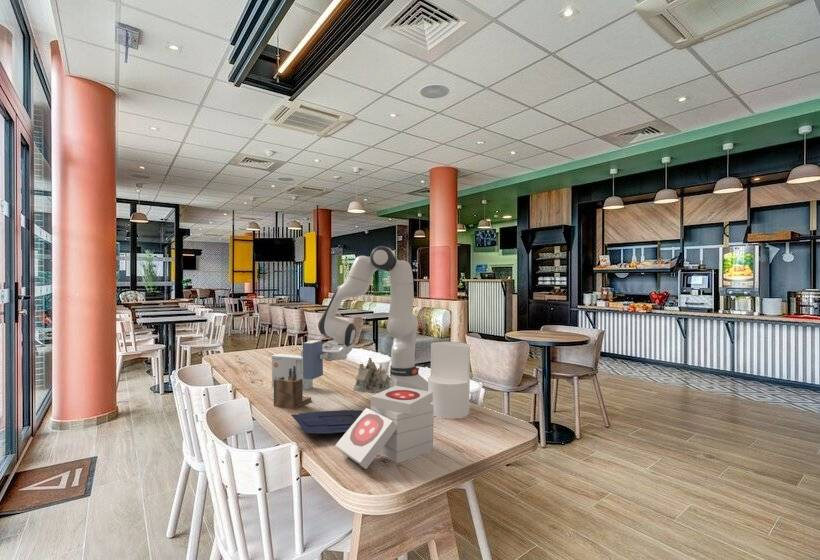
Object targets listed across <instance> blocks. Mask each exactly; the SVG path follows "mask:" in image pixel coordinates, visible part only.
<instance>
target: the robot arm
mask: <svg viewBox="0 0 820 560" xmlns="http://www.w3.org/2000/svg"><path fill="white" fill-rule="evenodd" d="M376 271H385V272H387V273H388V274H389V275H388V276H389V287H390V289H389V290H390V292H389V293H390V300H389V301H390V302H389V311H388V319H387V323H386V331H387V333H388V335H389V336H390V337H392V338H393V340H392V341H393V342H392V345H391V352H390V353H391V354H390V357H391V359H390V360H391V361H390V370H389V375H390V376H389V377H390V378H391V381H390V388H391V387H394V386H401V387H406V388H412V389H418V390H423V391H428V381H427V379H425V378H424V377H422V375H420V374H419V370H420V367H419V366H418V367H417V365H415V359H416V358H415V355H416V354H415V353H416V352H415V349H416V342H417V336H418V327H419V320H418V317H417V316H416V315H415V314H414V313H412V312H413V306H414V302H415V294H414V291H415V290H414V275H413V270H412V265H411V264H410V262H409V261H406V260H403V259H402V260H400V259H397V256H396V254H395V252H394V251H393V250H392V249H391V248H390V247H387V246H385V245H380V246H379V245H378V246H376V247H374V248H373V249H372V251H371V253H370V255H369V256H366V255H358V256H357V257H355V259H354V260H353V262H352V265H351V267H350V270H349V272H348V274H347V275H348V276H347V277H346V280H345V281H344V282H343V283H342V284H339V285H338V286H337V288H336V289H335V291H334V293H333V295H332V297H331V299H330V301H329V303H328V305H327V308H326V309H325V311H324V313H323V314H322V317H320V319H319V321H318V323H317V329H318V331H319V334H321V335H323V336H326V337H331V338H333V339H332V340H329V341H326V342H324V343H322V349H323V354H319V355H318V359H323V361H326V362H332V361H340V360H347V356H348V355H349V353H351V351H352V350H353V348H354V342H355V339H356V337H357V328H356V326H355V324H354V323H353V322H350V321H347V320H344V319H341V318H338V317H337V316H336V314H337V312H338V311H339V308H340V306H341V303H342V302H343V301H344V300H345V299H347V298H349V299H350V298H357V297H361V296H364V295H365V294H367V292H368V290H369V289H370V285H371V282H372V279H373V278H372V277H373V276H374V274H375V272H376ZM300 356H301V357H302V358H303V348H302V349H301V350H300Z"/></svg>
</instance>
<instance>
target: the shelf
mask: <svg viewBox="0 0 820 560" xmlns="http://www.w3.org/2000/svg"><path fill="white" fill-rule="evenodd" d="M303 391H304V389H303V379H298V380H295V381H290V380H284V377H279V378H277V379H274V386H273V406H274V407H280V408H286V409H293V410H296V409H297V408H299V407H301V406H303V405H305V404H308V403H309V402H311V401H312V396H311V397H310V396H303V395H304V394H303Z"/></svg>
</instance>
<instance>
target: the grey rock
mask: <svg viewBox="0 0 820 560" xmlns="http://www.w3.org/2000/svg"><path fill="white" fill-rule="evenodd" d="M355 380H356V381H355V384H354V385H353V391H355V392H357V393H380V392H382V391H384V390H387V389H389V388H390V381H391V377H390V376H389V375H388V374H387V373H386V369H382V370H381V369H378V367H377V365H376V364H375V362H374V361H373V360H372V357H368V360H367V363H366V366H365V367H364V364H363V363H360V364H359V368H358V373H357V376H356V378H355Z"/></svg>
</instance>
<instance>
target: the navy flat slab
mask: <svg viewBox="0 0 820 560" xmlns="http://www.w3.org/2000/svg"><path fill="white" fill-rule="evenodd" d="M363 411H364V410H362V409H356V410H353V409H352V410H348V409H343V410H342V409H341V410H340V409H339V410H319V411H316V410H315V411H310V412H299V413H298V414H293V413H292V414H291V417H292V418H293V419H294V420H295V422H296V423H297V424H298V425H299V427H300V428H301V430H302V431H303V432H304V434H313V433H314V434H318V435H320V434H337V433H346V432H347V430H348V429H349V428H350V427H351V426H352V424H353V423H354V422H355V421H356V420H357V418H358V417H359V416H360V415H361V414H362V412H363Z"/></svg>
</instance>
